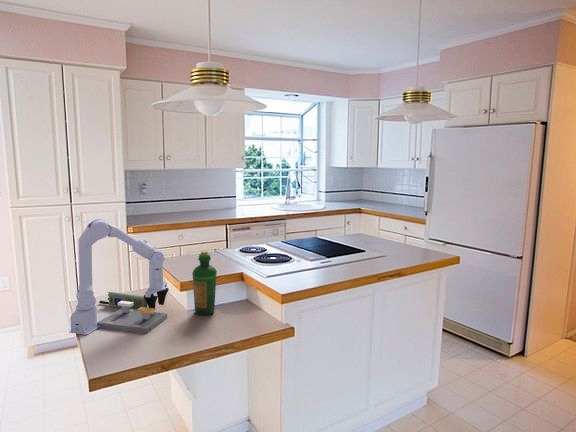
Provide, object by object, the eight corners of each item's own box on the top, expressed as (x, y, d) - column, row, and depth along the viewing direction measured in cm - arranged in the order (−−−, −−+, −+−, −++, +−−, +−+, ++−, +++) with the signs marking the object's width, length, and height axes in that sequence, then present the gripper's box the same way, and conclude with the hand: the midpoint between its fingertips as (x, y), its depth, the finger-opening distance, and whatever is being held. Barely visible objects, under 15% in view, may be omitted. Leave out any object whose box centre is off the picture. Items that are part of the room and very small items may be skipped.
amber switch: (151, 320, 163) (151, 310, 163) (138, 318, 165) (137, 309, 164) (154, 318, 166) (154, 308, 165) (141, 316, 167) (141, 306, 166)
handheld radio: (144, 313, 177) (97, 305, 184) (148, 310, 181) (102, 303, 187) (144, 298, 177) (97, 291, 183) (148, 296, 180) (102, 289, 187)
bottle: (190, 309, 182) (190, 249, 178) (214, 306, 186) (214, 248, 182) (194, 318, 172) (194, 255, 168) (219, 315, 176) (219, 253, 172)
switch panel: (146, 333, 157) (146, 328, 156) (97, 327, 161) (97, 322, 161) (167, 317, 172) (167, 313, 172) (121, 312, 177) (121, 307, 176)
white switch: (130, 313, 170) (130, 304, 169) (118, 312, 171) (117, 302, 170) (134, 311, 172) (133, 302, 171) (121, 310, 173) (121, 300, 173)
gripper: (155, 283, 163) (156, 315, 165) (172, 273, 177) (173, 302, 179) (140, 281, 165) (141, 313, 167) (158, 272, 179) (159, 301, 181)
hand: (156, 307), depth 173 cm, fingers open, 7 cm apart
